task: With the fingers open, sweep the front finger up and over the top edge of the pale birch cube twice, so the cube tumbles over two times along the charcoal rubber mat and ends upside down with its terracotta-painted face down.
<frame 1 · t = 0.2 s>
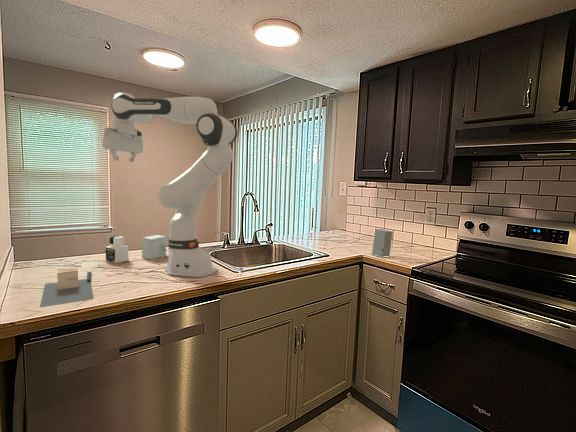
hand: (124, 161, 143), 47 cm above the countertop, tool pointing down, fingers open, 8 cm apart
birch cube: (68, 285, 114), resting on rubber mat
rubber mat: (68, 292, 109), on the countertop
spatula: (89, 272, 131), on the countertop, touching rubber mat
medicine bottle: (117, 261, 150), on the countertop
skincare box: (381, 256, 185), on the countertop
skincare box 2: (154, 256, 161), on the countertop
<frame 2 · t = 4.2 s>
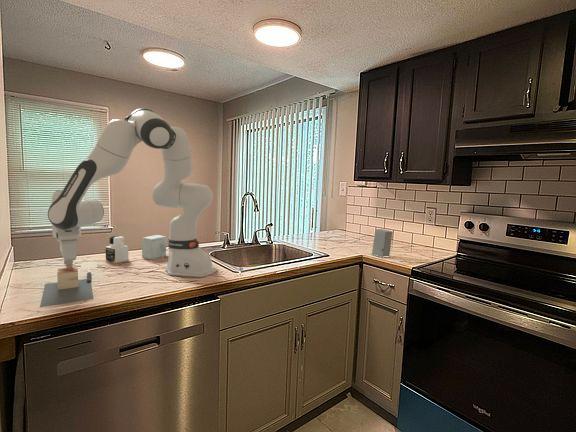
hand: (68, 267, 120), 5 cm above the countertop, tool pointing down, fingers open, 7 cm apart
birch cube: (68, 285, 114), resting on rubber mat, touching gripper
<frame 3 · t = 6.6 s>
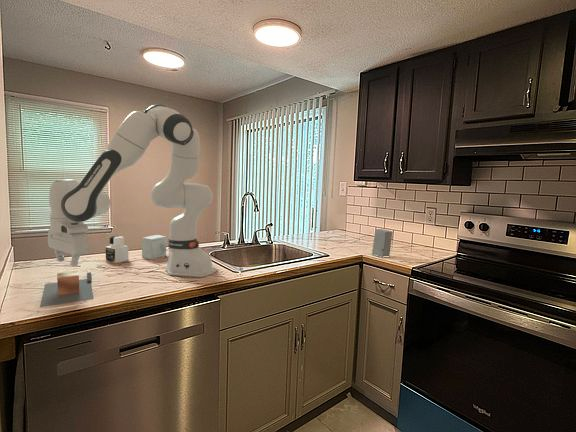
hand: (67, 263, 112), 9 cm above the countertop, tool pointing down, fingers open, 8 cm apart
birch cube: (68, 280, 111), point 3 cm above the countertop, tilted 90°, touching rubber mat
spatula: (89, 273, 130), on the countertop
everything else where it was.
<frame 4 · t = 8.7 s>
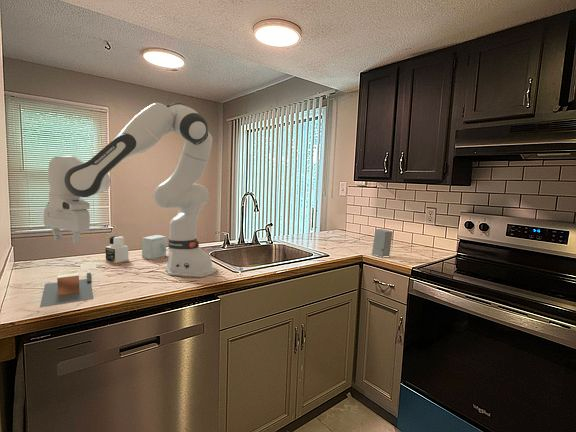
hand: (66, 241, 110), 17 cm above the countertop, tool pointing down, fingers open, 8 cm apart
spatula: (88, 274, 130), on the countertop, touching rubber mat
everything else where it was.
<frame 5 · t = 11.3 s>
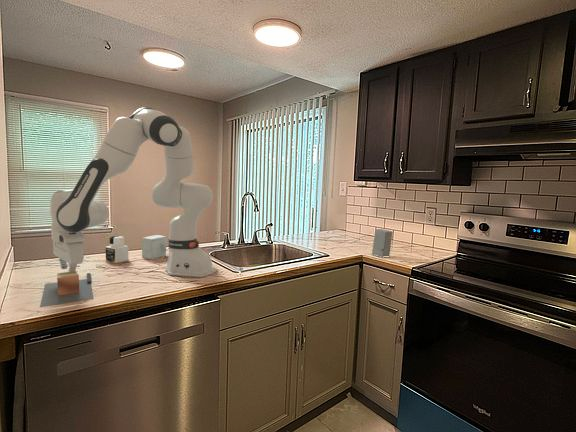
hand: (68, 271, 115), 5 cm above the countertop, tool pointing down, fingers open, 7 cm apart
birch cube: (68, 280, 111), point 3 cm above the countertop, tilted 90°, touching gripper, rubber mat
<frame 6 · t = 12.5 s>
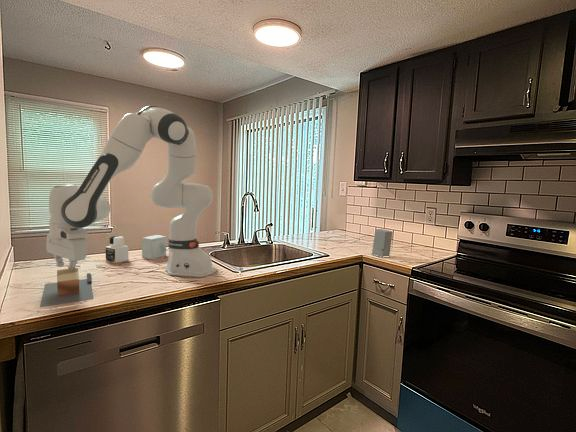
hand: (65, 268, 111), 7 cm above the countertop, tool pointing down, fingers open, 6 cm apart
birch cube: (68, 275, 109), point 6 cm above the countertop, tilted 116°, touching gripper, rubber mat
everything else where it was.
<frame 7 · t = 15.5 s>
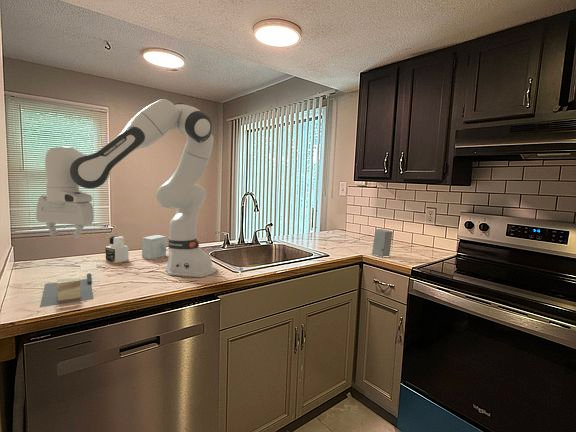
hand: (65, 236, 106), 20 cm above the countertop, tool pointing down, fingers open, 8 cm apart
birch cube: (68, 279, 103), point 6 cm above the countertop, tilted 180°, touching rubber mat
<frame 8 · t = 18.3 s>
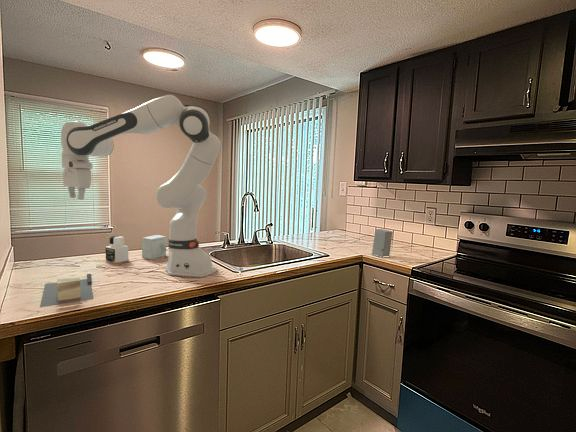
hand: (76, 198, 125), 31 cm above the countertop, tool pointing down, fingers open, 8 cm apart
at the end: birch cube tilted 180°; birch cube inside the target area (0.7 cm from its centre), point 6.4 cm above the countertop; birch cube touching rubber mat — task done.
